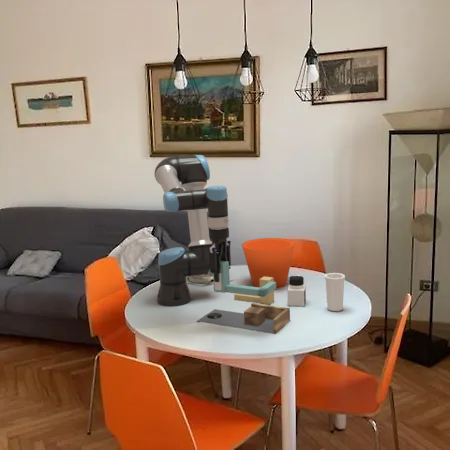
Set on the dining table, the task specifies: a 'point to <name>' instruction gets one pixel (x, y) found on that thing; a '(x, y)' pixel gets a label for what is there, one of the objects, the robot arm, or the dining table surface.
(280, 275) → the flowerpot
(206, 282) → the pie
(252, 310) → the walnut block
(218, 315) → the black round disc
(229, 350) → the dining table surface
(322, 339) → the dining table surface
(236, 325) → the runner mat
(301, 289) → the medicine bottle
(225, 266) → the crook
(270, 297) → the yellow l-shaped block
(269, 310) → the wooden l-shaped bracket
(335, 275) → the cup
